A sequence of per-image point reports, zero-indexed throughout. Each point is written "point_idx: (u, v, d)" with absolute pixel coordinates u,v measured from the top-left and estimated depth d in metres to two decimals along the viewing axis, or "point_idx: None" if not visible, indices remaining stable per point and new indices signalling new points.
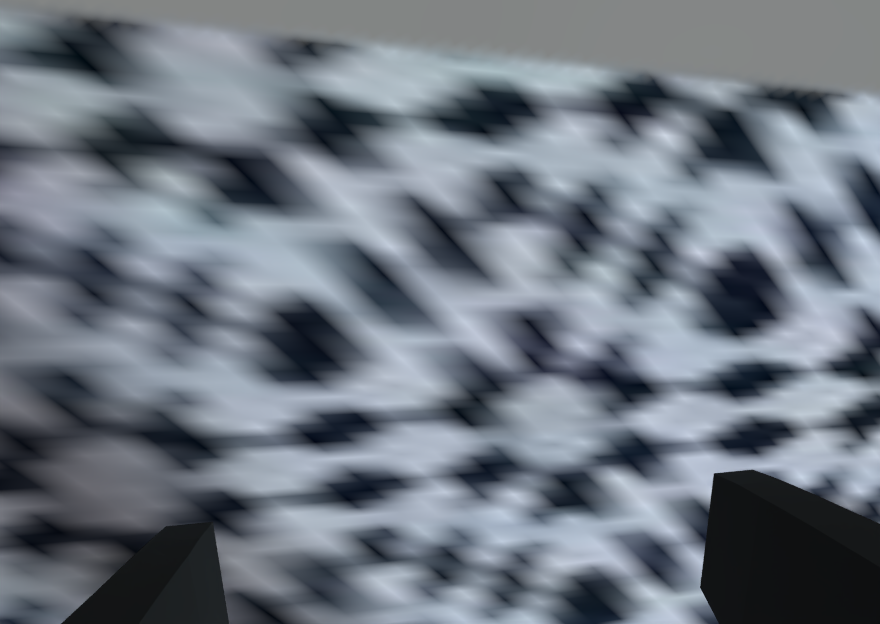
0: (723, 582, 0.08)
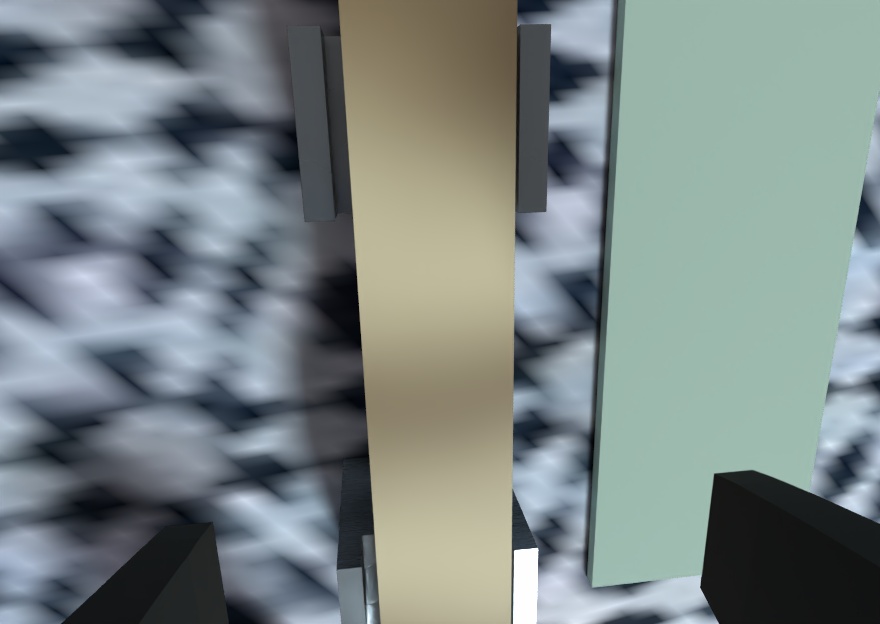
0: (723, 582, 0.08)
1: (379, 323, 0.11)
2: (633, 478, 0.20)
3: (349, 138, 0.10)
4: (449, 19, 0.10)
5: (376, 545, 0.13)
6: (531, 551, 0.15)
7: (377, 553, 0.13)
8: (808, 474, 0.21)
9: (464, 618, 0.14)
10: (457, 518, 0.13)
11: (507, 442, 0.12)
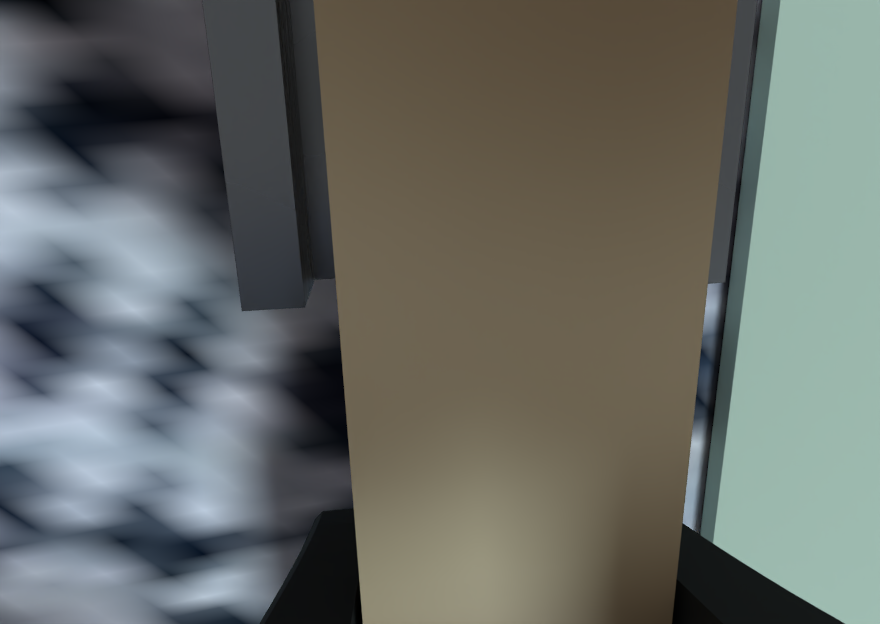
0: None
1: (398, 542, 0.05)
2: None
3: (328, 137, 0.04)
4: None
5: None
6: None
7: None
8: None
9: None
10: None
11: None
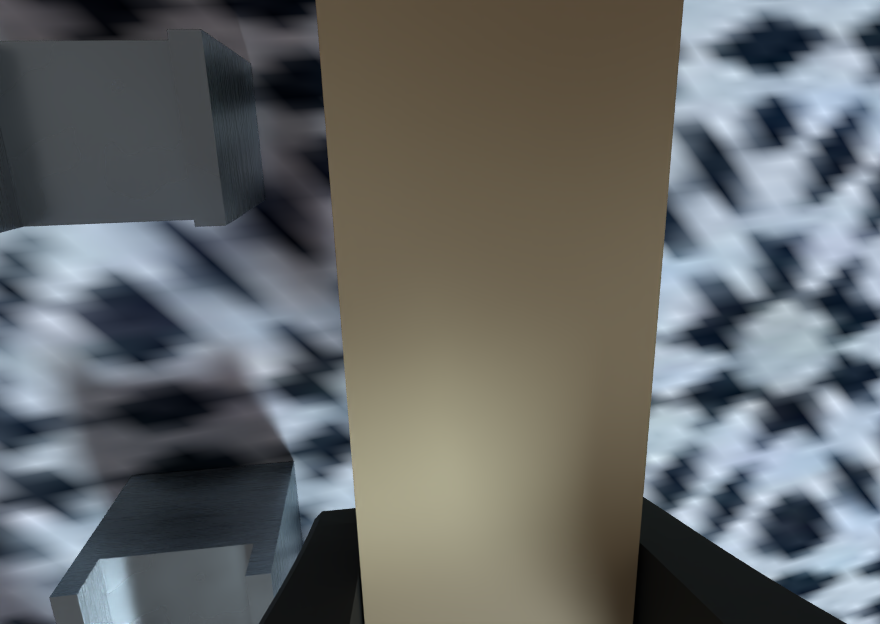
0: None
1: (391, 495, 0.06)
2: None
3: (330, 137, 0.05)
4: None
5: None
6: (263, 576, 0.14)
7: None
8: None
9: None
10: None
11: None
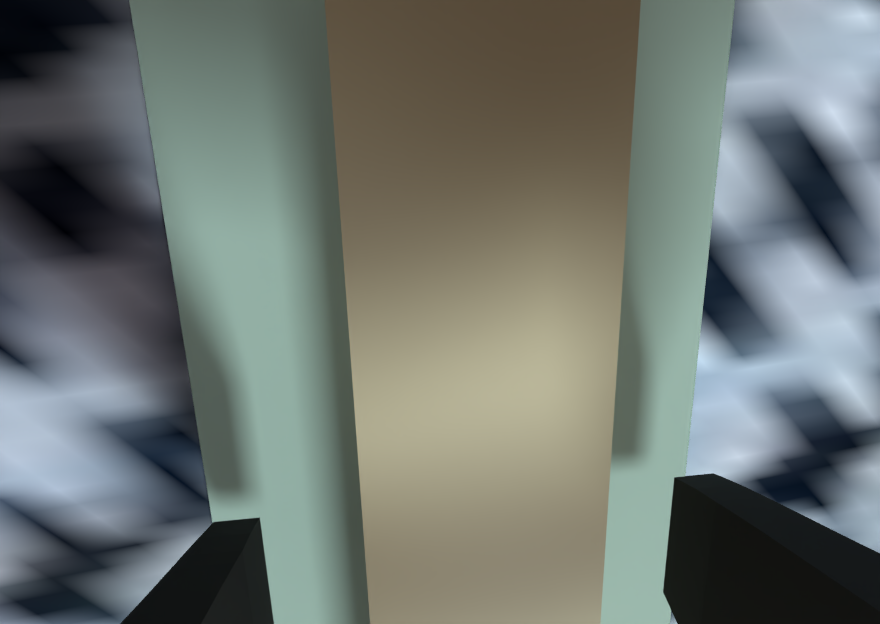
0: (684, 587, 0.08)
1: (389, 446, 0.07)
2: None
3: (337, 132, 0.06)
4: None
5: None
6: None
7: None
8: None
9: None
10: None
11: (592, 619, 0.08)
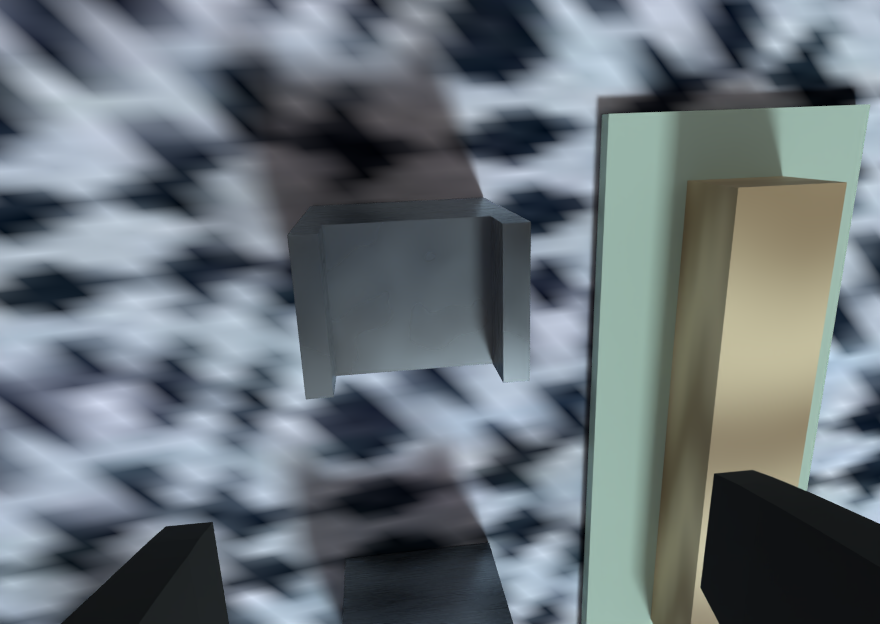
0: (724, 582, 0.08)
1: (728, 389, 0.17)
2: (622, 571, 0.21)
3: (730, 272, 0.16)
4: (803, 197, 0.15)
5: (700, 540, 0.18)
6: None
7: (699, 546, 0.18)
8: None
9: None
10: None
11: (797, 468, 0.18)
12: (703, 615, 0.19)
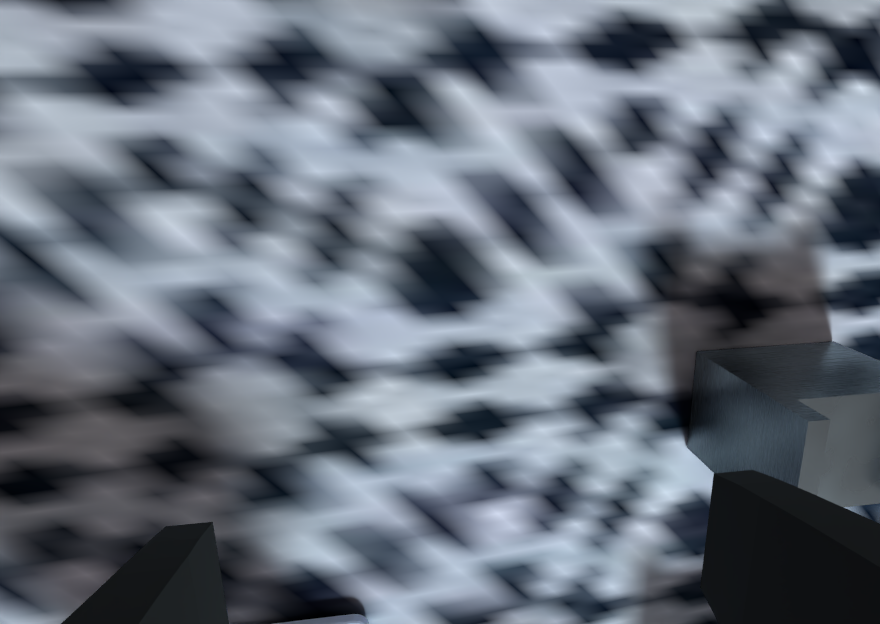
0: (723, 582, 0.08)
1: None
2: None
3: None
4: None
5: None
6: None
7: None
8: None
9: None
10: None
11: None
12: None
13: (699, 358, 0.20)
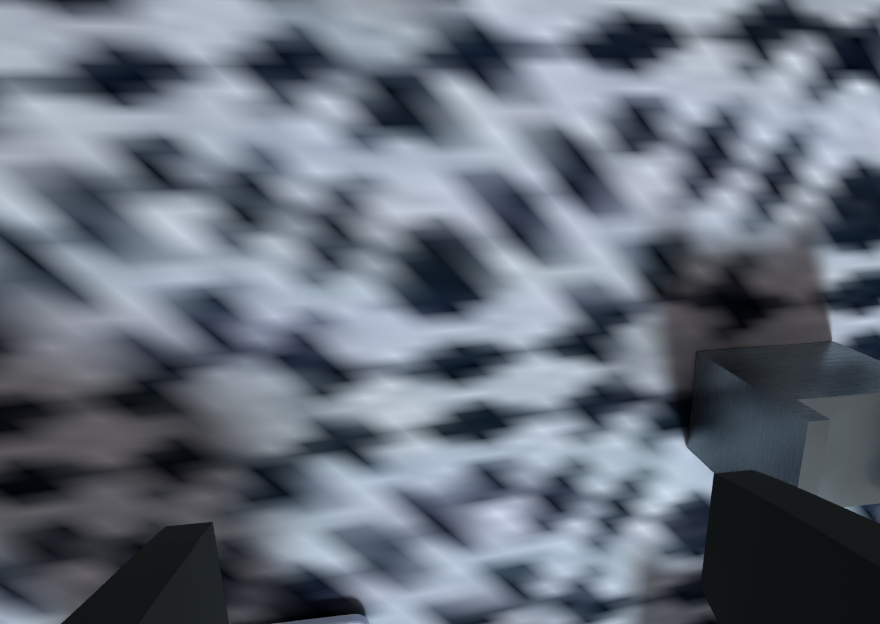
0: (723, 582, 0.08)
1: None
2: None
3: None
4: None
5: None
6: None
7: None
8: None
9: None
10: None
11: None
12: None
13: (699, 358, 0.20)
